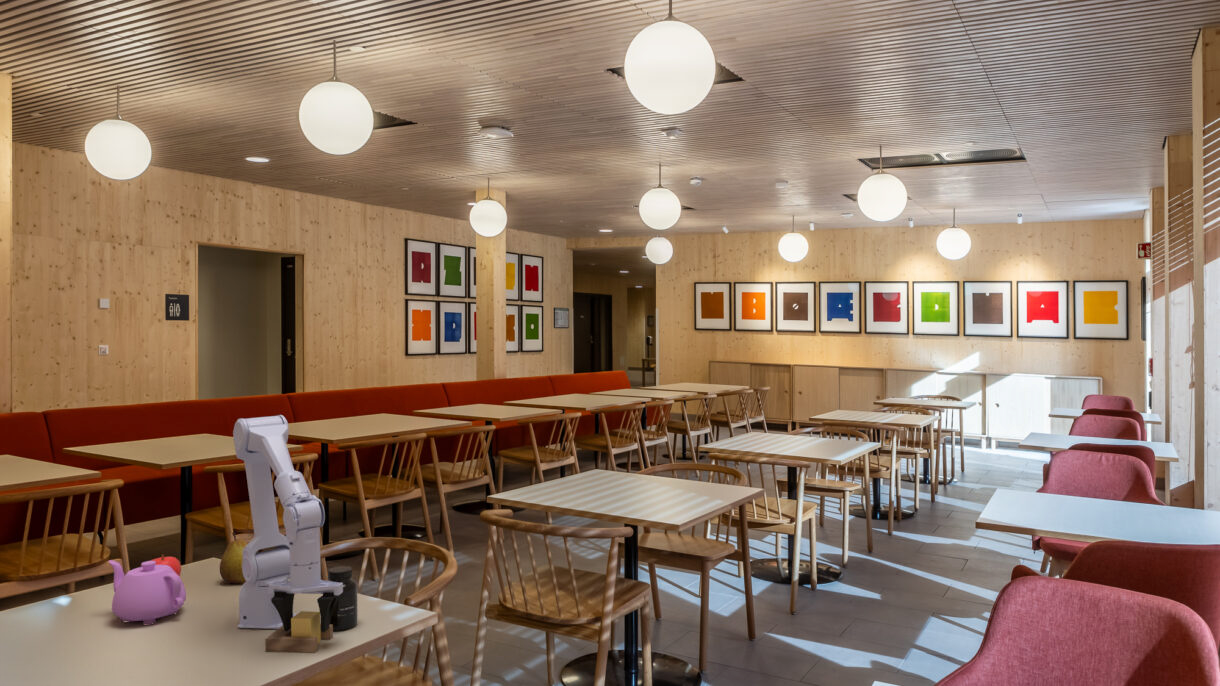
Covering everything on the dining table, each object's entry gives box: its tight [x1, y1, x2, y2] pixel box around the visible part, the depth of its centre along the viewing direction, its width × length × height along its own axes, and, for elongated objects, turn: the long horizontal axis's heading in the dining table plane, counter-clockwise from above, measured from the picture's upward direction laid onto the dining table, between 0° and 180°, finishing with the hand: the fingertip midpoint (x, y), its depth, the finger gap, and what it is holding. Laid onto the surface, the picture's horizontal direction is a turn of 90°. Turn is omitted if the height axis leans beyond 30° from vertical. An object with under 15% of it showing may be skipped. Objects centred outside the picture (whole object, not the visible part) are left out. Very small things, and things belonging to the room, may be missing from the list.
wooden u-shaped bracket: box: [264, 623, 334, 654], centre depth 161 cm, size 10×8×2 cm
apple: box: [150, 554, 182, 578], centre depth 199 cm, size 8×8×8 cm
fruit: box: [219, 531, 248, 585], centre depth 202 cm, size 9×9×12 cm
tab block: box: [291, 610, 322, 644], centre depth 160 cm, size 4×4×6 cm
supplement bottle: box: [327, 565, 359, 632], centre depth 170 cm, size 7×7×12 cm
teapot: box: [108, 559, 187, 625], centre depth 178 cm, size 20×14×12 cm
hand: (306, 629), depth 161 cm, fingers open, 7 cm apart
